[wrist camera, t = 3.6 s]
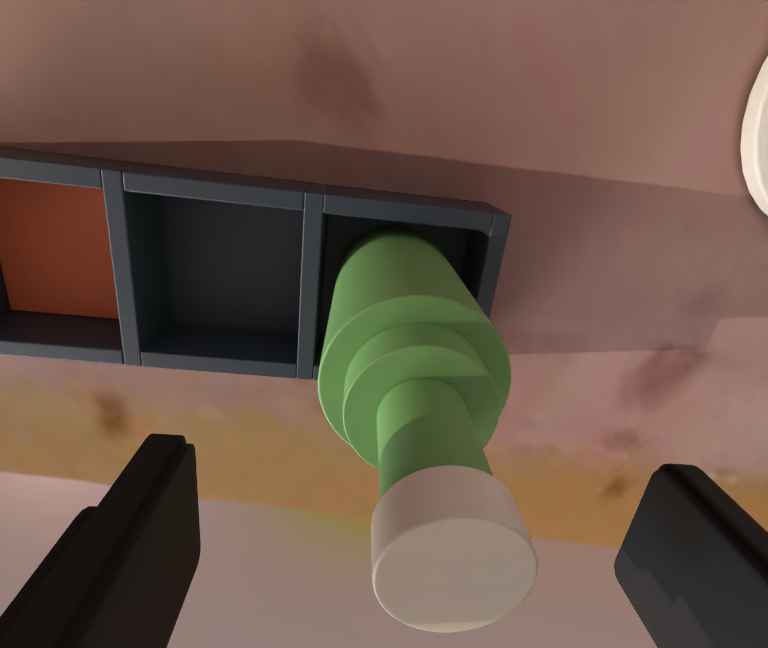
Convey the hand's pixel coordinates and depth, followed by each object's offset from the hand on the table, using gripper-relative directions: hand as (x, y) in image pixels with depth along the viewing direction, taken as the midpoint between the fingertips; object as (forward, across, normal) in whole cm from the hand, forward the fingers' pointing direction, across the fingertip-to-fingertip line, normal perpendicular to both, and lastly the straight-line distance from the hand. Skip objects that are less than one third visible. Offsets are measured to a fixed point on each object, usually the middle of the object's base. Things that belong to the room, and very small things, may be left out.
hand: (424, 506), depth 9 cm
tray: (+16, +8, 0) cm, 18 cm away
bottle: (+16, 0, 0) cm, 16 cm away
